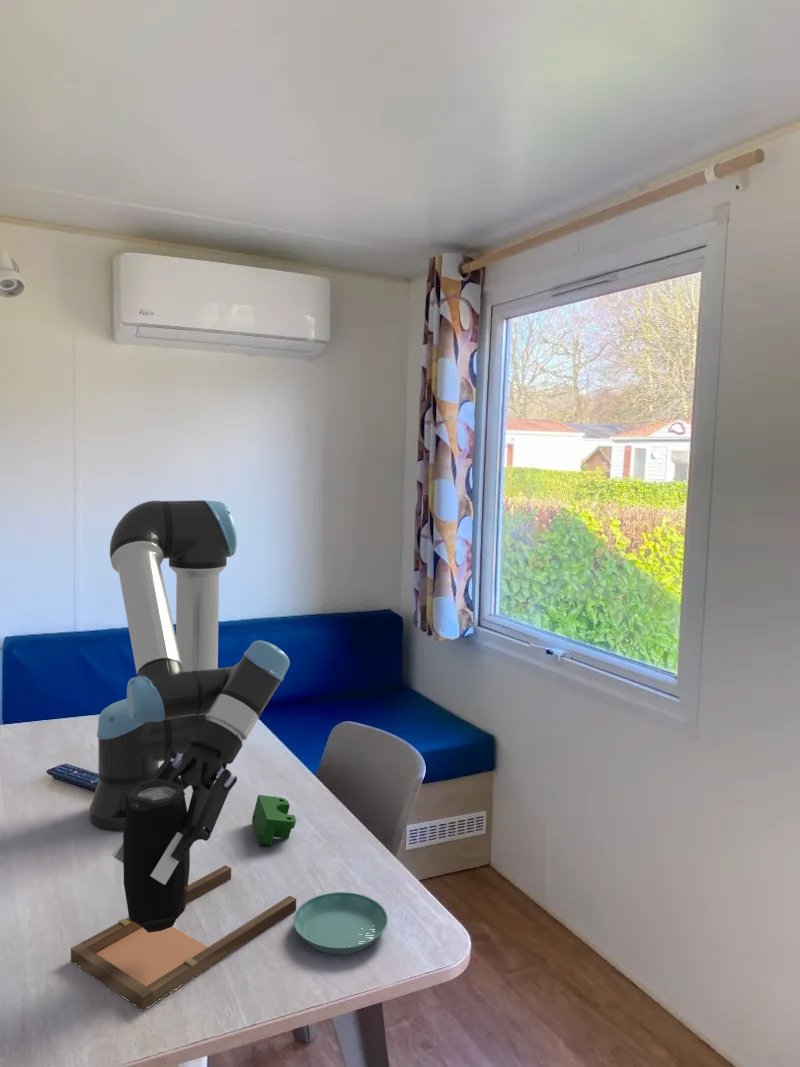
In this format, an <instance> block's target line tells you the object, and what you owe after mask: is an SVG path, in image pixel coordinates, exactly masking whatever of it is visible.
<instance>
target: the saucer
mask: <svg viewBox="0 0 800 1067" xmlns="http://www.w3.org/2000/svg"><path fill="white" fill-rule="evenodd" d="M388 918H389V917H388V914H387V911H386V909H385V907H384V906H383V905H382V904H381V903H379V902H378V901H377V900H375V899H373V898H372V897H368V896H367V895H365V894H364V895H363V894H361V893H355V892H346V891H335V892H333V891H332V892H329V893H328V892H327V893H323V894H319V895H316V896H314V897H312V898H310V899H308V900H307V901H305V902H304V903H302V904H301V905H299V907H298V908H296V911H295V913H294V915H293V926H294V929H295V931H296V932H297V933H298V935H299V936H300V937H301V939H302V940H303V941H304V942H306V943H307V944H308V945H309V946H311V947H312V948H313V949H316V950H317V951H320V952H323V953H326V954H329V953H330V954H329V955H349V953H350V954H355V953H357V951H358V952H360V951H362V950H364V949H366V948H368V947H369V946H371V944H373V943H375V942H376V940H378V939H379V938H380V936H381V935H382V934H383V933H384V932H385V930H386V928H387V925H388V921H389V920H388ZM373 925H374V926H373ZM361 928H363V929H361ZM370 929H375V930H370ZM372 931H375V932H372ZM366 933H369V934H366ZM359 934H362V935H359ZM365 935H374V936H365ZM366 937H374V938H373V939H372V940H371V939H369V938H366ZM369 940H370V941H369ZM359 941H365V942H359ZM358 943H363V944H358ZM349 946H350V947H349ZM354 952H355V953H354Z"/></svg>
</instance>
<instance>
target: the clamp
mask: <svg viewBox="0 0 800 1067" xmlns="http://www.w3.org/2000/svg"><path fill="white" fill-rule="evenodd" d="M289 809H290V803H289V800H288V799H286V798H284V797H278V796H272V795H262V794H258V795H257V798H256V802H255V805H254V809H253V814H252V818H251V824H252V828H253V831H254V834H255V838H256V840H257V842H258V845H259V846H267V847H270V846H271V845H272V843H273V840H274V838H276V839H286V840H287V839H289V838H290V836H291V832H292V830H293V829H294V828H295V826H296V822H297V818H296V816H295V815H294V814H289Z"/></svg>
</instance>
